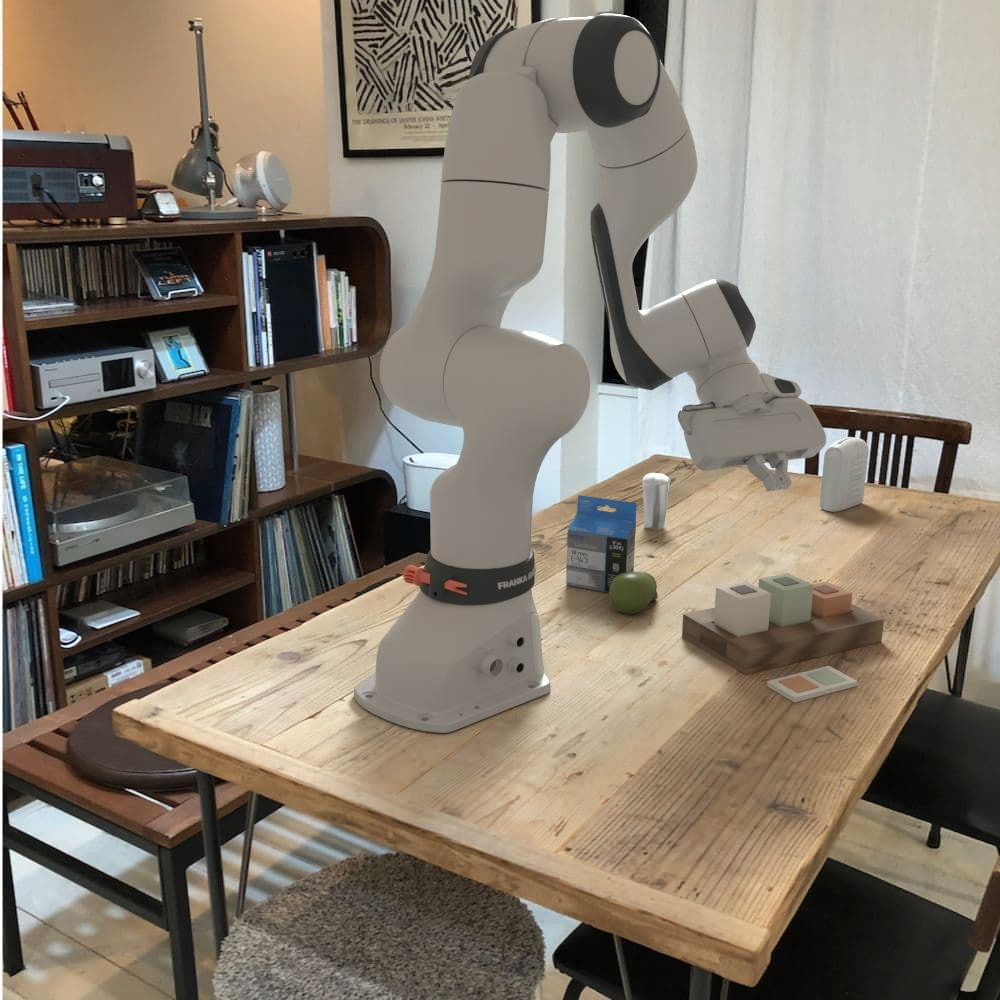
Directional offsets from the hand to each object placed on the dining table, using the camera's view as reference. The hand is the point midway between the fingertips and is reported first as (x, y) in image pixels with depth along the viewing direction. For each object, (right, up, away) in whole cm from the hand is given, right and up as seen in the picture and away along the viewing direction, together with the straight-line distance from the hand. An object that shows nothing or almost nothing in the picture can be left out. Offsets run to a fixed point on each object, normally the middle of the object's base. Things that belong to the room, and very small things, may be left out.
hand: (780, 488), depth 132 cm
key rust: (+4, -17, -4) cm, 18 cm away
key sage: (-2, -16, -7) cm, 18 cm away
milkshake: (-10, -6, +37) cm, 39 cm away
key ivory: (-7, -17, -10) cm, 21 cm away
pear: (-18, -16, +4) cm, 25 cm away
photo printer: (+24, -3, +50) cm, 56 cm away
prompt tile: (-2, -22, -19) cm, 29 cm away
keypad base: (-2, -19, -6) cm, 20 cm away
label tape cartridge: (-22, -14, +11) cm, 28 cm away
